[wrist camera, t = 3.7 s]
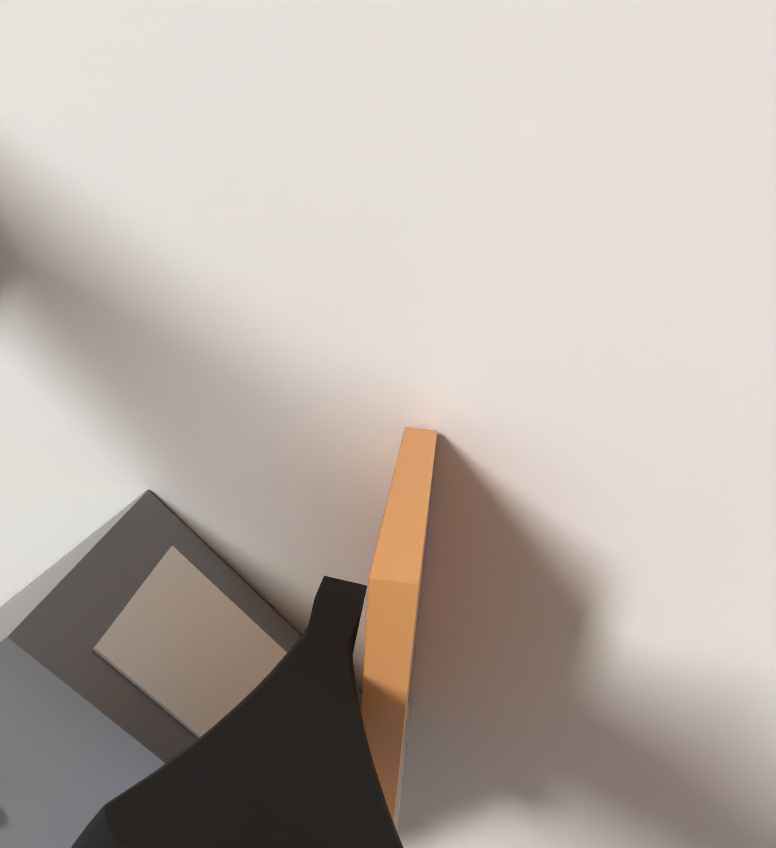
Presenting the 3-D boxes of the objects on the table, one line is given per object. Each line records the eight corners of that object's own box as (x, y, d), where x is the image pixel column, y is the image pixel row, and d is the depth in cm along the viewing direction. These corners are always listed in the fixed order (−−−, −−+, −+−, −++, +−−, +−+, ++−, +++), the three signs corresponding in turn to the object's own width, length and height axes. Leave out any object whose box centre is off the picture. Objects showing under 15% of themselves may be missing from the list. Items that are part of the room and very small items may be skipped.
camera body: (403, 730, 19) (377, 957, 14) (240, 801, 22) (166, 1011, 17) (150, 487, 16) (-10, 655, 11) (0, 606, 19) (-184, 785, 14)
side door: (409, 719, 19) (387, 927, 14) (379, 714, 19) (345, 919, 14) (440, 431, 14) (424, 585, 9) (400, 427, 14) (363, 577, 9)
